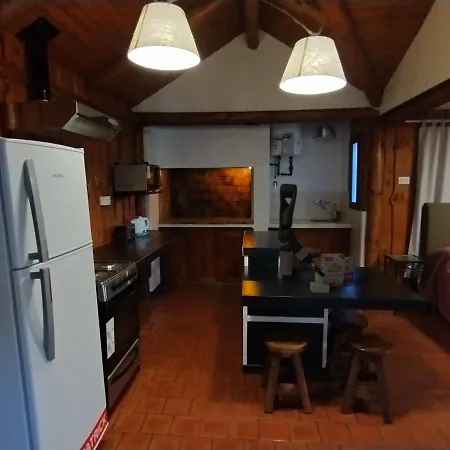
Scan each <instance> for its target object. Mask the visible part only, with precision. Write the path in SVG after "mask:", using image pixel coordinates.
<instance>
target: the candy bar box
mask: <svg viewBox="0 0 450 450" xmlns="http://www.w3.org/2000/svg"><path fill="white" fill-rule="evenodd" d="M354 260H355V257H352V256H345V264H344V280H343V283H348V282H349V283H350V282H353V281H354Z"/></svg>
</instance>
